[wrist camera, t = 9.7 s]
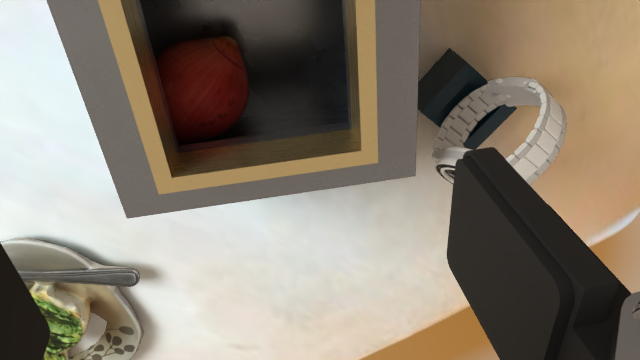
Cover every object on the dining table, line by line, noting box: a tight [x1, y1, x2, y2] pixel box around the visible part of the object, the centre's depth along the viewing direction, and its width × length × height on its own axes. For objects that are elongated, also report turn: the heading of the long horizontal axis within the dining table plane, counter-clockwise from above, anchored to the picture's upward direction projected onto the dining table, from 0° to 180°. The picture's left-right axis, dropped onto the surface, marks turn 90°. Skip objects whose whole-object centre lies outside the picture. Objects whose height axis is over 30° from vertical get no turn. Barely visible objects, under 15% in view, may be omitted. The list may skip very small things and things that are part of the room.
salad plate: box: [0, 238, 143, 360], centre depth 40 cm, size 19×18×5 cm
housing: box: [47, 0, 421, 218], centre depth 26 cm, size 16×16×12 cm
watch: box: [417, 48, 567, 185], centre depth 32 cm, size 6×8×11 cm
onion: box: [156, 36, 249, 142], centre depth 30 cm, size 6×6×8 cm
